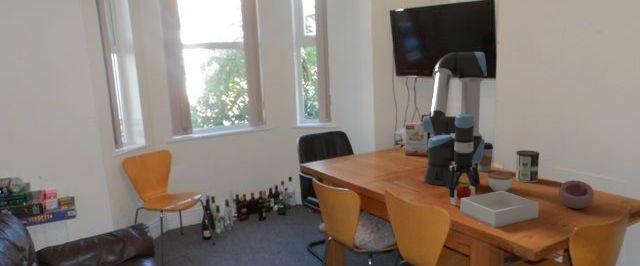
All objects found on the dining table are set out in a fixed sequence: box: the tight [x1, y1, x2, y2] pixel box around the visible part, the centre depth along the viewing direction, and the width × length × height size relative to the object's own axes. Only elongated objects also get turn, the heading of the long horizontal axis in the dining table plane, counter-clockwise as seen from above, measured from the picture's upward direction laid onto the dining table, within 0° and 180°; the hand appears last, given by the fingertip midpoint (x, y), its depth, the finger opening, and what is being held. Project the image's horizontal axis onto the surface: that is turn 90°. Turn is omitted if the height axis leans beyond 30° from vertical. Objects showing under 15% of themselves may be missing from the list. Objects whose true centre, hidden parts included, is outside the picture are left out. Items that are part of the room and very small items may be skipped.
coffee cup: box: [478, 142, 494, 173], centre depth 238 cm, size 8×8×15 cm
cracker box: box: [404, 122, 429, 156], centre depth 283 cm, size 14×6×21 cm, turn 81°
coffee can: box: [515, 149, 540, 183], centre depth 218 cm, size 10×10×14 cm
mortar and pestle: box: [558, 179, 595, 210], centre depth 176 cm, size 12×12×12 cm
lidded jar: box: [487, 170, 514, 192], centre depth 202 cm, size 11×11×9 cm
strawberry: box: [455, 180, 471, 203], centre depth 187 cm, size 6×8×10 cm
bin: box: [459, 191, 540, 228], centre depth 171 cm, size 18×22×6 cm
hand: (462, 202), depth 187 cm, fingers open, 9 cm apart
